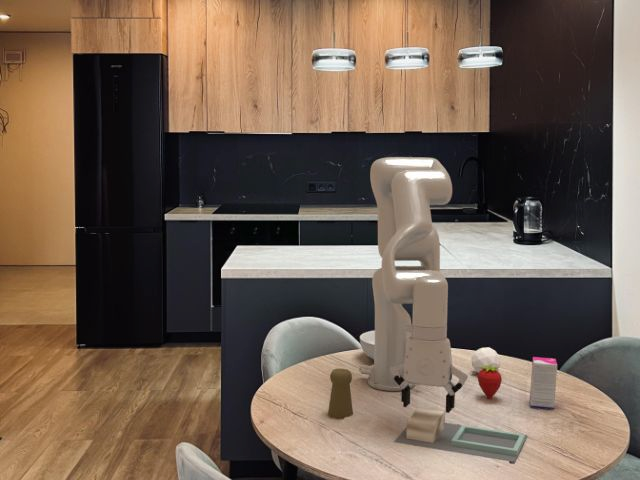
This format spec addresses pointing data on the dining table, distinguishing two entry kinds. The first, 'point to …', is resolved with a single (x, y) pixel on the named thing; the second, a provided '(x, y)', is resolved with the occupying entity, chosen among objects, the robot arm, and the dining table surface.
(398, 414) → the dining table surface
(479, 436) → the charcoal mat
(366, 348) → the serving bowl
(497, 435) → the teal frame
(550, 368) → the supplement box
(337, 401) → the cork
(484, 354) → the geometric ball
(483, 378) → the strawberry
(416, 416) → the beige block
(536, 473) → the dining table surface
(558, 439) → the dining table surface
